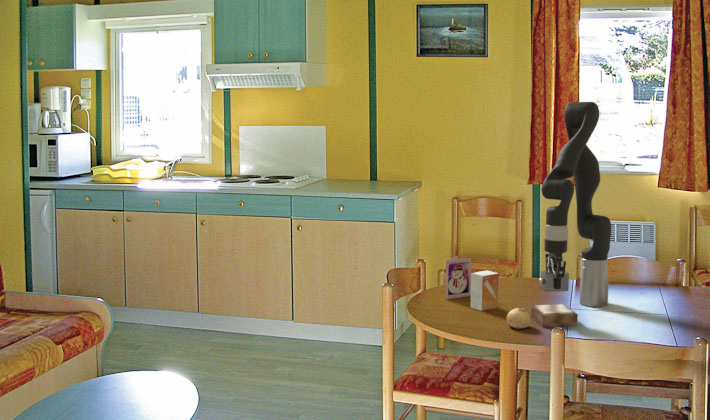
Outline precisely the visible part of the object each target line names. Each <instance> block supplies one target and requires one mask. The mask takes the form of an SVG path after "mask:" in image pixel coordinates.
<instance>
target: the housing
mask: <svg viewBox="0 0 710 420" xmlns="http://www.w3.org/2000/svg"><path fill="white" fill-rule="evenodd" d="M556 272H557V271H556ZM569 281H570V273H569V272H567V271H566V270H565V274H564V277H562V278H561V288H560V289H554V272H553V271H546V270H541V271H540V277H539V278H538V284H539V285H540V289H541V290H543V291H544V292H568V291H569V284H570V282H569Z"/></svg>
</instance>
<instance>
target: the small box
mask: <svg viewBox="0 0 710 420" xmlns="http://www.w3.org/2000/svg"><path fill="white" fill-rule="evenodd" d="M499 274H500V273H499V272H495V271H492V270H488V269H487V270H482V271H480V270H479V271H476V272H471V296H470V308H471V309H475V310H477V311H481V312H483V311H488V310H493V309H498V307H499V305H498V303H499V279H500V278H499V277H500V275H499Z"/></svg>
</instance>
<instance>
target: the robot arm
mask: <svg viewBox="0 0 710 420" xmlns="http://www.w3.org/2000/svg"><path fill="white" fill-rule="evenodd" d="M564 107H565V108H564V110H563V111H564V112H563V117H564V124H565V129H566V134H567V138H568V141H567V142H566V143H565V144H564V145H563V146H562V148H561V149H560V151H559V153H558V155H557V158H556V161H555V163H554V167H553V168H552V169H551V170H550V172H549V173H548V175H547V176H546V177H545V178H544V180H543V183H542V184H541V194H542V196H543V198H544V199H547V200H557V201H560V202H559V204H558V205H554V206H549V207H547V208H546V213H545V220H546V221H545V228H544V248H543V249H544V252H546V253H545V254H544V255H545V257H544V258H545V260H544V261H545V271H553V272H554V289H560V288H561V278H562V277H564V274H565V271H566V268H567V267H566V265H567V261H566V260H564V258H563V254H564V253H567V252H568V240H569V235H568V234H569V231H568V230H569V229H568V219H569V217H568V216H569V209H570V206H571V202H572V200H573V197H574V193H575V199H576V200H575V201H576V202H575V203H576V226H577V232H578V235H579V236H580V237H581V238H582V239H587V240H592V241H593V242H592V246H591V247H588V248H583V249H582V250H581V255H580V256H581V257H580V258H581V260H580V280H579V281H580V283H579V284H580V285H579V287H580V289H579V304H580V305H583V306H586V307H594V308H597V307H599V308H600V307H604V306H608V305H609V284H610V283H609V279H608V278H607V277H608V256H609V253H610V248H611V237H612V236H611V235H612V222H611V219H610V218H609V217H608V216H605V215H599V214H594V213H593V207H592V206H593V205H592V203H593V202H592V201H593V198H594V196H595V193H596V192H597V190H598V189H599V185H600V184H601V183H600V182H601V172H600V163H599V160H598V158H597V156H596V155H595V154H594V153H593V152H592V150H591V149H590V148H589V146H588V145H587V144H588V142H589V140H590V139H591V136H592V134H593V132H594V131H595V129H596V127H597V125H598V122H599V120H600V118H599V117H600V109H599V105H598V104H597V103H596V102H594V101H578V102H569V103H567V104H565V106H564ZM571 178H573V182H572V180H570V179H571ZM556 271H557V272H556Z"/></svg>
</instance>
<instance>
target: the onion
mask: <svg viewBox="0 0 710 420" xmlns="http://www.w3.org/2000/svg"><path fill="white" fill-rule="evenodd" d="M526 308H527V307H526V306H525V307H523V308H521V307H520V308H519V307H515V308H513V309H511V310H510V311H509V312H508V313H507V314H506V319H505V321H506V323H507V324H508V326H509V327H510V328H514V329H518V330H520V329H526V328H527V327H529V326H530V325H531V320H532V319H531V318H532V317H531V314H530V313H529V312H528V311H527V310H526Z"/></svg>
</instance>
